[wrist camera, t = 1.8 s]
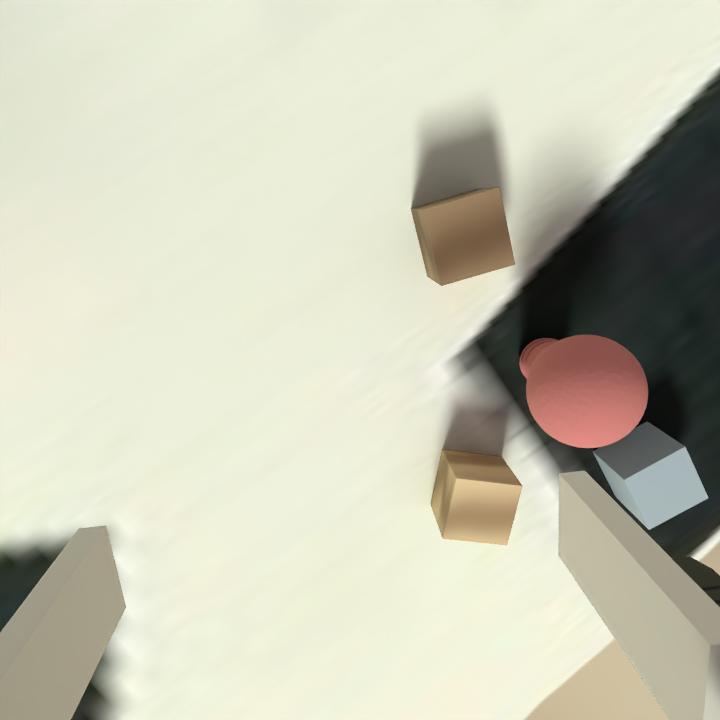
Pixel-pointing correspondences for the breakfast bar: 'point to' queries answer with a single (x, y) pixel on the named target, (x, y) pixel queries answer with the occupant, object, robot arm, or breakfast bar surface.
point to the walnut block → (463, 235)
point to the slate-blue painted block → (651, 474)
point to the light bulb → (584, 389)
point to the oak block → (475, 497)
